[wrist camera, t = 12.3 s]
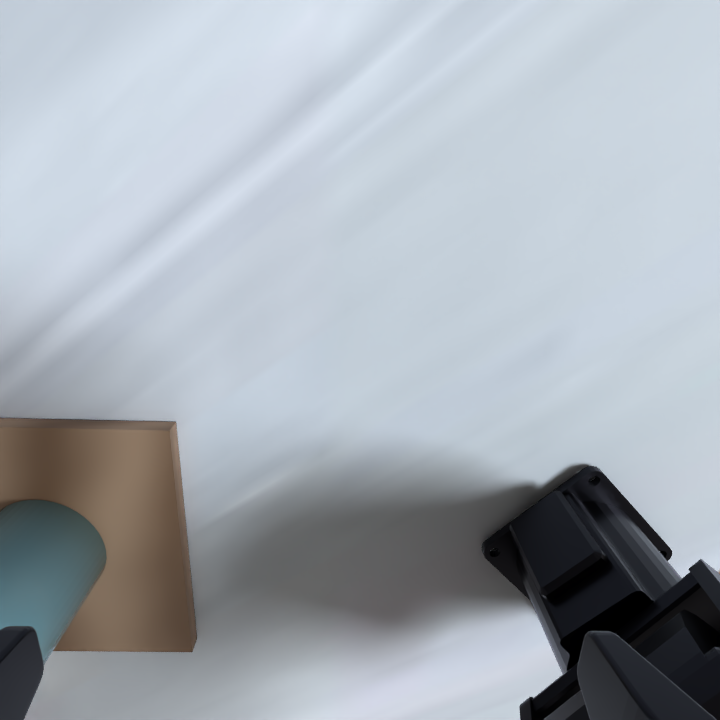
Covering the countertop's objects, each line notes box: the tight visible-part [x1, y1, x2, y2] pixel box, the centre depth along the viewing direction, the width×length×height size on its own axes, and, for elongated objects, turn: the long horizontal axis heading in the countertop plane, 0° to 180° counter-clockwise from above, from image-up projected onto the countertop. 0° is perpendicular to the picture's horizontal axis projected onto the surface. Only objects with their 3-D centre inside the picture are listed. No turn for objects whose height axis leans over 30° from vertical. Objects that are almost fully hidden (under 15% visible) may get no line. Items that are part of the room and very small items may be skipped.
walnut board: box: [0, 418, 197, 652], centre depth 23 cm, size 12×12×1 cm
